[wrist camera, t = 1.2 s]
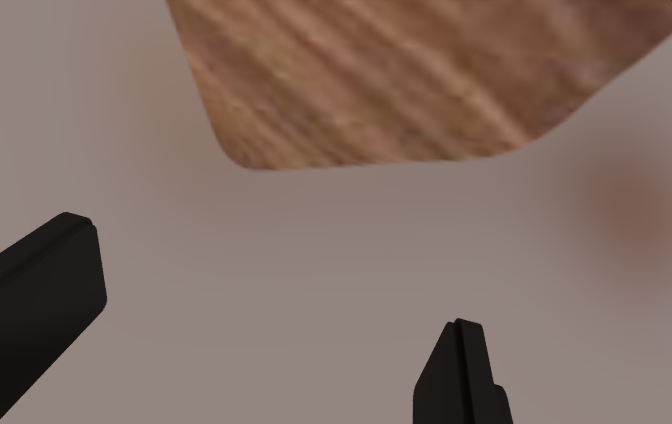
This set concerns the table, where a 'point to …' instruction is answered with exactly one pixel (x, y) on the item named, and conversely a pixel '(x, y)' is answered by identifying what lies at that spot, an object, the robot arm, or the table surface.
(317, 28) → the table surface
